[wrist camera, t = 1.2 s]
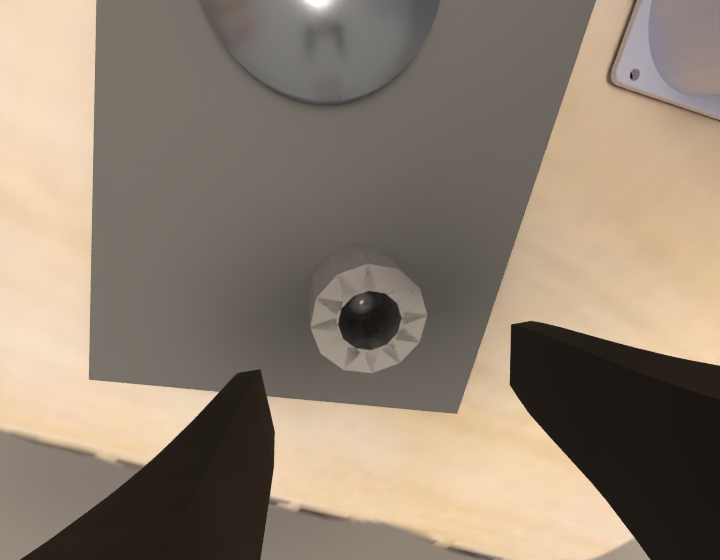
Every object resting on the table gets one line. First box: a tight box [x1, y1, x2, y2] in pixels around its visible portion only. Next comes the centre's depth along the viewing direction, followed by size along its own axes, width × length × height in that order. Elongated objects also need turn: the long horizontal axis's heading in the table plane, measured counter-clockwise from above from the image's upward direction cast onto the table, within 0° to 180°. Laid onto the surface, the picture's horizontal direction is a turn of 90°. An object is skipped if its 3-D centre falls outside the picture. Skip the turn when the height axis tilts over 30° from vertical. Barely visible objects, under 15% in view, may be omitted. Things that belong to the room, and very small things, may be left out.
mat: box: [89, 0, 596, 414], centre depth 16 cm, size 19×25×1 cm
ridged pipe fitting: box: [308, 242, 427, 373], centre depth 16 cm, size 4×4×4 cm
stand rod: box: [347, 291, 377, 319], centre depth 16 cm, size 1×1×2 cm
